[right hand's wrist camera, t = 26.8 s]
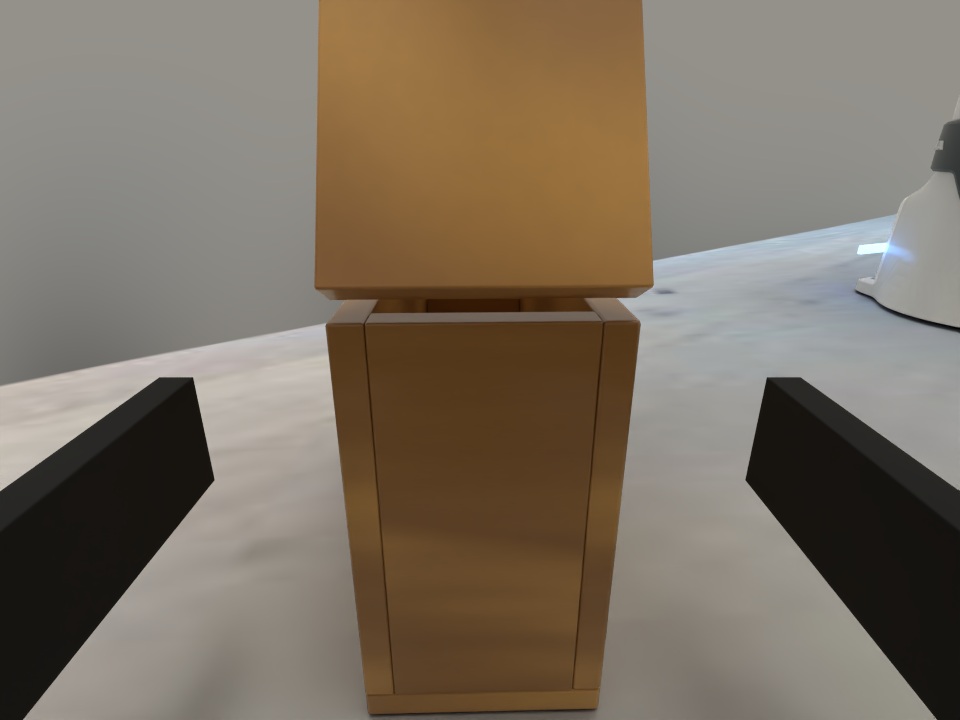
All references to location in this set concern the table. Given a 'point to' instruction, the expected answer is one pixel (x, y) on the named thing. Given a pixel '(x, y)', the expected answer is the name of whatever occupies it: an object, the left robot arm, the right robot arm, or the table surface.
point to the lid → (482, 150)
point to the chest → (482, 494)
